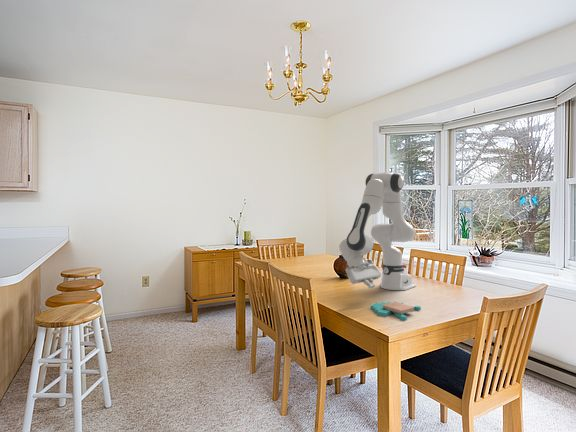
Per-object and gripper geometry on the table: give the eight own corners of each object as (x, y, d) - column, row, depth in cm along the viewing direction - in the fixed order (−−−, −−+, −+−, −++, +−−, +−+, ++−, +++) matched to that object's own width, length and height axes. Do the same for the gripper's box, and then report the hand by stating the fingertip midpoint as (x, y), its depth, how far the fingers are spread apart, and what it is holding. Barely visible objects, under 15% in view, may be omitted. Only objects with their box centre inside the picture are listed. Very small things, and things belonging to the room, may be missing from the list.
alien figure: (420, 310, 175) (382, 303, 187) (420, 306, 174) (382, 299, 187) (405, 322, 159) (364, 313, 172) (405, 317, 159) (364, 308, 172)
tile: (395, 301, 177) (414, 307, 168) (395, 305, 177) (413, 310, 168) (382, 305, 172) (401, 310, 163) (382, 308, 172) (401, 314, 163)
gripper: (347, 264, 184) (361, 286, 176) (374, 260, 195) (388, 281, 188) (341, 271, 188) (354, 293, 180) (368, 266, 199) (382, 287, 192)
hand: (372, 287), depth 184 cm, fingers closed
